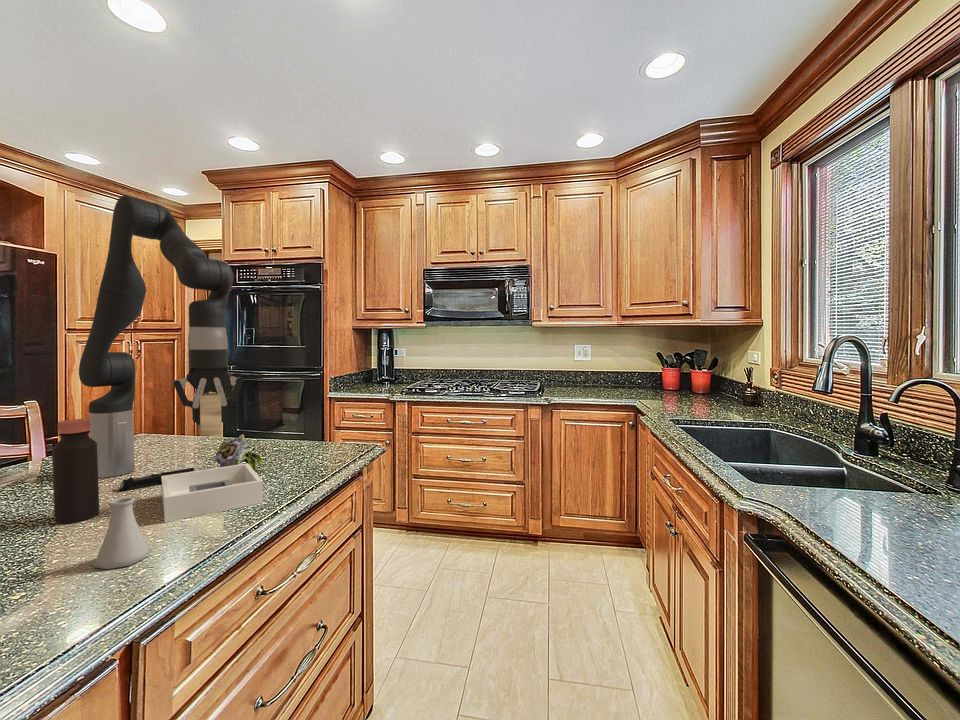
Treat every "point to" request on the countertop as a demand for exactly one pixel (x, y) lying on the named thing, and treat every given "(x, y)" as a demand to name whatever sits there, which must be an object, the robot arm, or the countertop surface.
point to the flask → (122, 538)
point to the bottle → (75, 473)
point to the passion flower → (237, 453)
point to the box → (210, 491)
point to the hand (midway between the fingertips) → (210, 422)
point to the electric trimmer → (148, 480)
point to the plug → (210, 414)
